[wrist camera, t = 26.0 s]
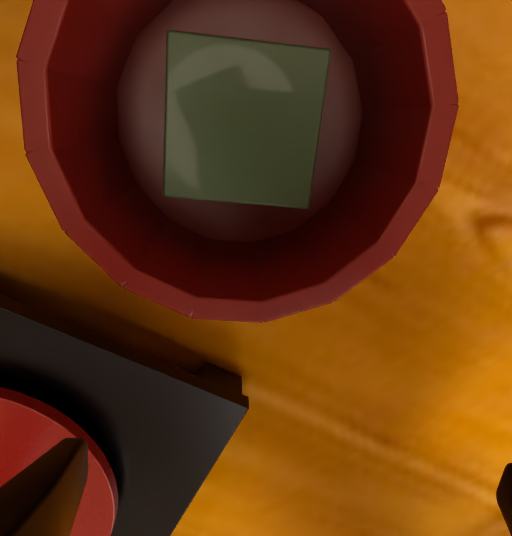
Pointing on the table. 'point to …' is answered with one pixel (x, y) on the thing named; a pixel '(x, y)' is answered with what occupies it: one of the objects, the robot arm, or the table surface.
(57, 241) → the table surface
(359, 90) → the bowl
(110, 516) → the lid
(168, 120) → the block
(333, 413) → the table surface
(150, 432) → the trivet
